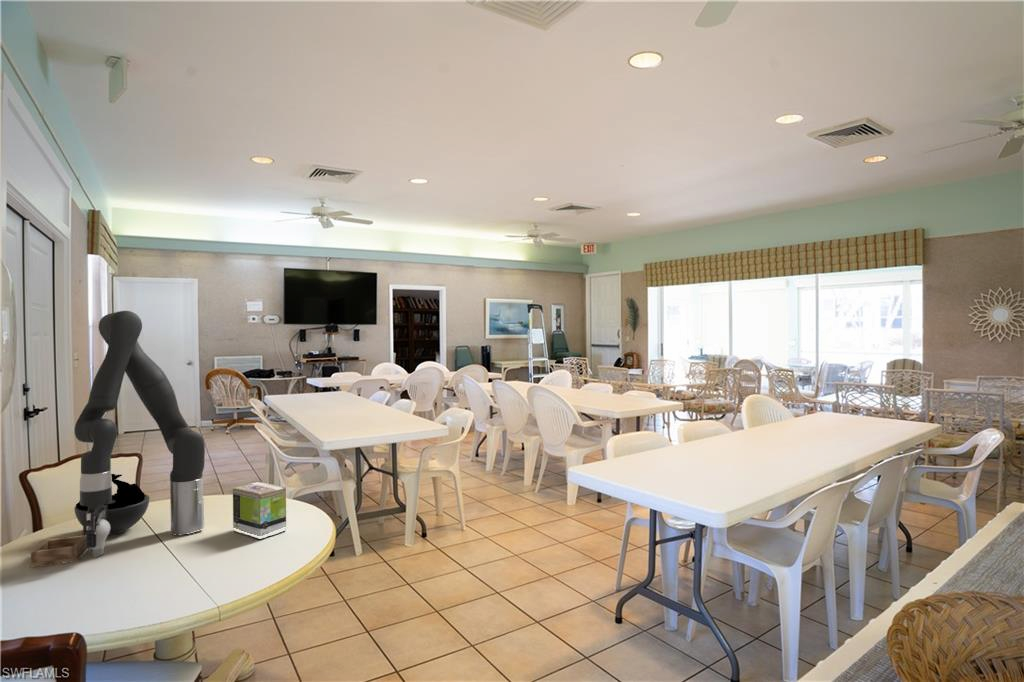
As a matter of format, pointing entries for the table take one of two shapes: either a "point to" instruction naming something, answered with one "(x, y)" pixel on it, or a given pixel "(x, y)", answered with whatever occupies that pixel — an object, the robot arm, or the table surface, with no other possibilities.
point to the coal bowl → (121, 506)
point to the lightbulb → (101, 537)
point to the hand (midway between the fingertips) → (96, 542)
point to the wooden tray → (58, 551)
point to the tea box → (259, 508)
